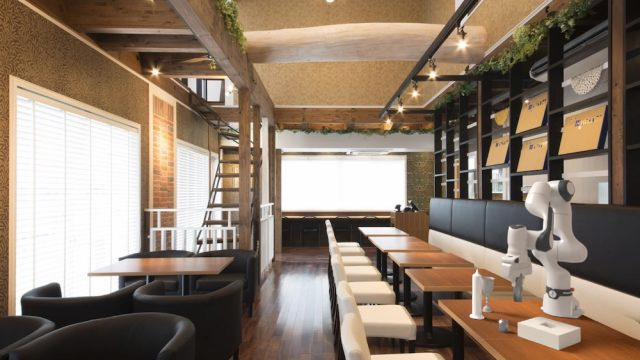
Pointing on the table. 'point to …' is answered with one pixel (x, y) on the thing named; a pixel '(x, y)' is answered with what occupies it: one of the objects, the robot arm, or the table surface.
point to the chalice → (487, 290)
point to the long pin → (518, 290)
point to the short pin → (503, 325)
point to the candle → (477, 296)
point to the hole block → (549, 332)
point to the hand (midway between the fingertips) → (517, 285)
